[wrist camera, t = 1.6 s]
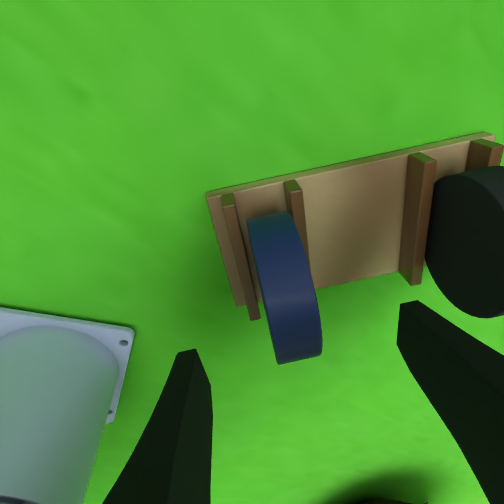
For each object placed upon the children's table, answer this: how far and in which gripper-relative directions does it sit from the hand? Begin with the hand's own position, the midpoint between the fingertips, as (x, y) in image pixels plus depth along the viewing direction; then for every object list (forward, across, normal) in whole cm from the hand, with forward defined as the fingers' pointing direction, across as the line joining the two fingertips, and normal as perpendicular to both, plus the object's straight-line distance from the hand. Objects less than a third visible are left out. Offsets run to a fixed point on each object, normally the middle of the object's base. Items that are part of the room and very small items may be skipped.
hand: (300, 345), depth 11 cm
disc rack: (+8, -4, 0) cm, 9 cm away
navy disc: (+7, 0, 0) cm, 7 cm away
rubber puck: (+7, -9, 0) cm, 11 cm away
